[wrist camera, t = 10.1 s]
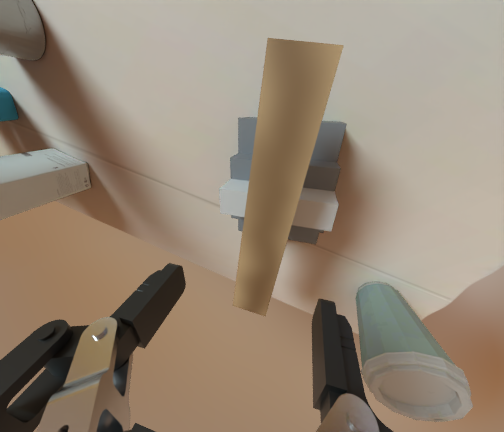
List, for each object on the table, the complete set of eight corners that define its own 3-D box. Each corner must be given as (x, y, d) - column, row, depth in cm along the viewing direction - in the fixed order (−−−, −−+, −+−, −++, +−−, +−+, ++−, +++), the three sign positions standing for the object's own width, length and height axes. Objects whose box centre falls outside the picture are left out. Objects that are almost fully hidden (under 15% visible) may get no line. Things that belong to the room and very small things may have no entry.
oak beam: (242, 280, 26) (232, 305, 23) (277, 56, 14) (267, 37, 10) (271, 288, 25) (265, 316, 22) (334, 62, 13) (343, 45, 10)
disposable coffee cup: (333, 285, 36) (346, 380, 23) (392, 261, 30) (452, 368, 18) (365, 319, 38) (394, 424, 25) (427, 302, 32) (504, 426, 20)
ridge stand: (245, 218, 34) (222, 256, 25) (247, 117, 26) (215, 120, 17) (315, 229, 31) (317, 277, 22) (341, 121, 23) (360, 128, 14)
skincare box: (88, 162, 37) (-26, 189, 24) (93, 189, 40) (-6, 224, 28) (51, 147, 38) (-78, 165, 25) (59, 174, 41) (-53, 203, 28)
